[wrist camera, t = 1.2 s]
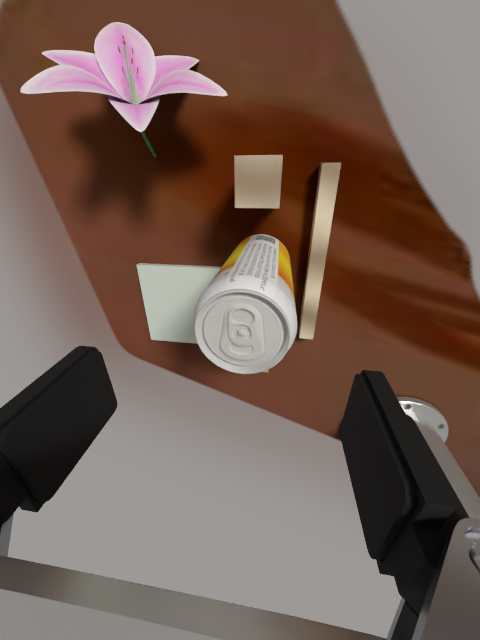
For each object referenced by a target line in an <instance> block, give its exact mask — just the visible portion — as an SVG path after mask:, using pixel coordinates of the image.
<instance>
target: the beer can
mask: <svg viewBox="0 0 480 640" xmlns="http://www.w3.org/2000/svg"><path fill="white" fill-rule="evenodd" d="M194 326H195V336H196V340H197V343H198V345H199V347H200V349H201V351H202V352H203V353H204V355H205V356H206V357H207V358H208V359H209V360H210V361H211V362H213V363H214V364H215V365H217V366H219V367H220V368H222V369H225V370H227V371H230V372H234V373H239V374H254V373H259V372H263V371H266V370H268V369H270V368H272V367H273V366H275V365H276V364H277V363H279V362H280V361H281V360H282V358H283V357H284V356H285V354H286V353H287V351H288V350H289V349H290V347H291V346H292V344H293V342H294V340H295V337H296V333H297V315H296V307H295V298H294V290H293V281H292V273H291V265H290V257H289V254H288V251H287V249H286V248H285V246H284V245H283V244H282V243H281V242H280V241H279V240H277V239H276V238H274V237H272V236H269V235H264V234H258V235H253V236H250V237H247V238H246V239H244V240H243V241H241V242H240V243H239V244H238V246H237V247H236V248H235V250H234V251H233V252H232V254H231V255H230V257H229V258H228V259H227V261H226V262H225V263H224V265H223V266H222V267H221V269H220V270H219V272H218V273H217V274H216V276H215V277H214V278H213V280H212V281H211V283H210V284H209V285H208V287H207V288H206V289H205V291H204V292H203V293H202V295H201V296H200V298H199V300H198V302H197V304H196V307H195V311H194Z"/></svg>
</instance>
